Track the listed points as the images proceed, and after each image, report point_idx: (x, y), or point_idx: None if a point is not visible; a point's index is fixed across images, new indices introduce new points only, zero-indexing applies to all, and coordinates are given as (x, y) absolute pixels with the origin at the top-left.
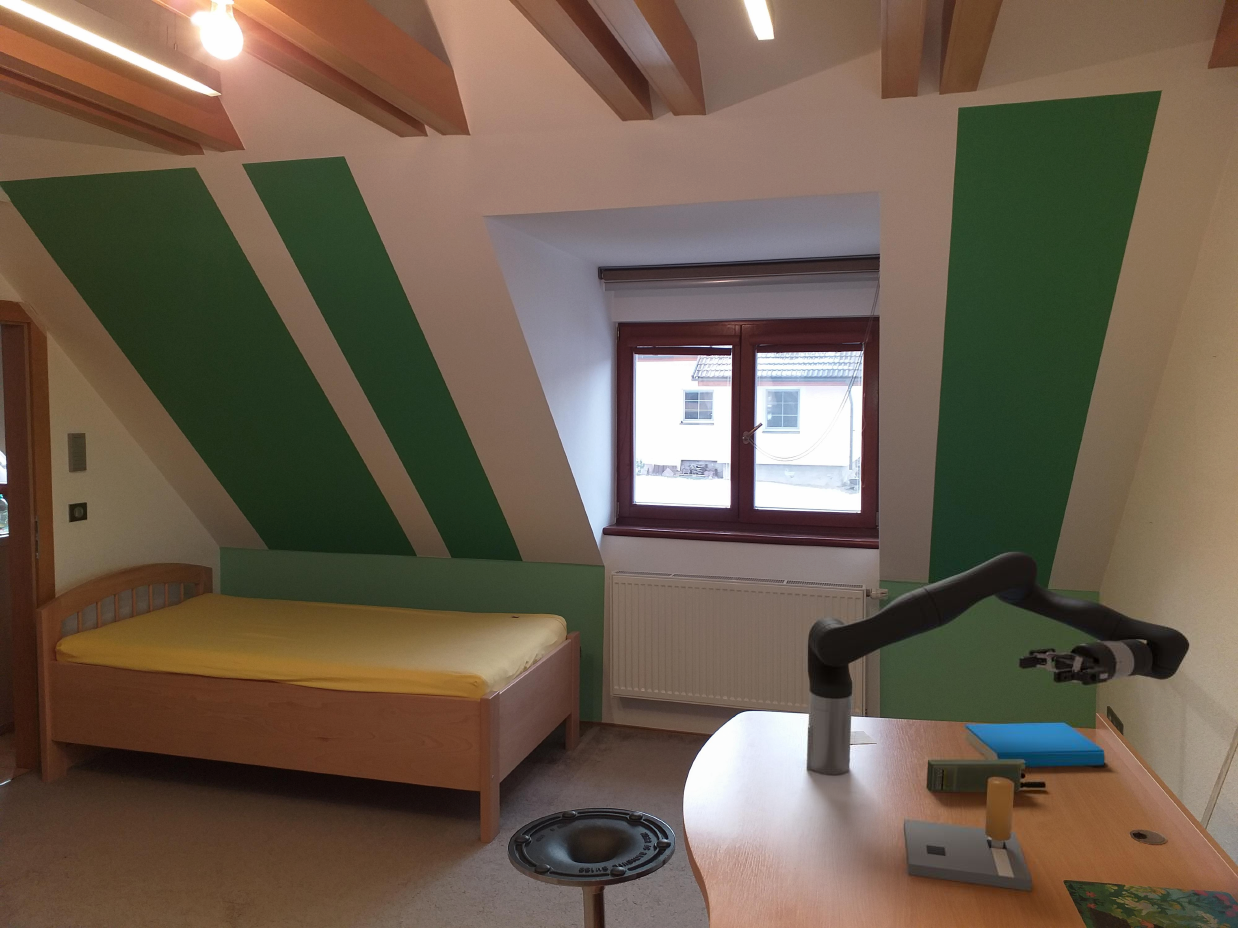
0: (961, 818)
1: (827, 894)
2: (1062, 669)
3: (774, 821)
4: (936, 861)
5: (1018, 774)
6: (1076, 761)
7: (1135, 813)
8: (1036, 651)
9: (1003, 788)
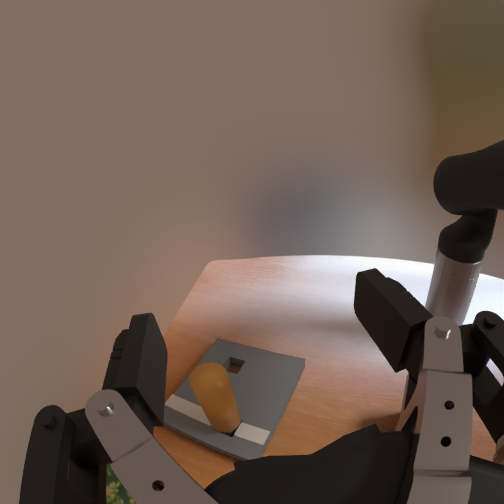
0: (327, 430)
1: (212, 297)
2: (143, 346)
3: (319, 286)
4: (214, 358)
5: None
6: None
7: None
8: (494, 339)
9: (192, 372)
